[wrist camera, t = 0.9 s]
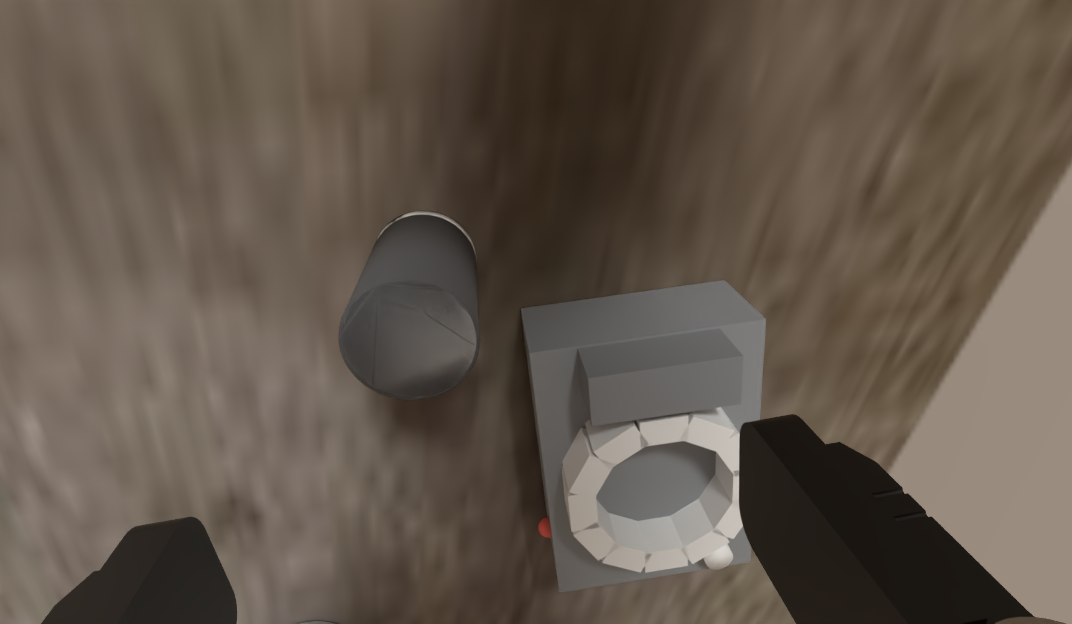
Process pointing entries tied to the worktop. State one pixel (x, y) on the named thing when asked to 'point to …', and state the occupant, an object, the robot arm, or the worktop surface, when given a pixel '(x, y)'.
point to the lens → (414, 309)
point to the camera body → (643, 429)
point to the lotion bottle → (316, 622)
